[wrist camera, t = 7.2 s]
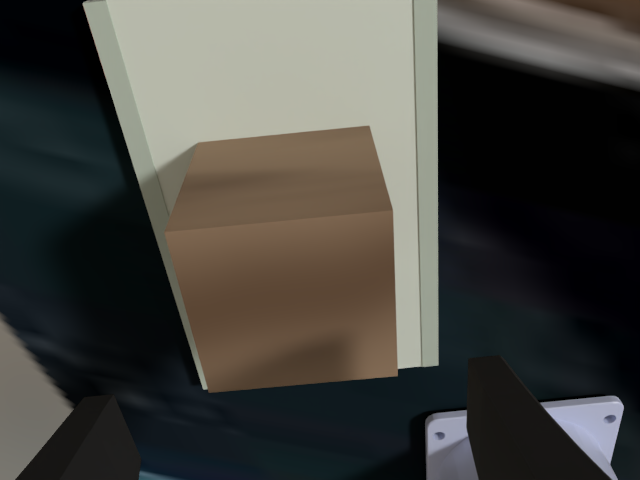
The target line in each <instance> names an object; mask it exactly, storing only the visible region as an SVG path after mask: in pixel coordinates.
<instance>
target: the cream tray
mask: <svg viewBox="0 0 640 480" xmlns="http://www.w3.org/2000/svg"><path fill="white" fill-rule="evenodd" d="M83 6H84V10H85V13H86V16H87V19H88V22H89V26H90V29H91V32H92V35H93V38H94V42H95V45H96V48H97V51H98V54H99V58H100V61H101V64H102V67H103V70H104V74H105V77H106V80H107V83H108V86H109V90H110V93H111V96H112V99H113V102H114V106H115V109H116V112H117V115H118V118H119V121H120V125H121V128H122V131H123V134H124V137H125V141H126V144H127V147H128V150H129V153H130V157H131V160H132V163H133V166H134V169H135V173H136V176H137V179H138V182H139V185H140V189H141V192H142V195H143V198H144V201H145V205H146V208H147V211H148V214H149V217H150V221H151V224H152V227H153V230H154V233H155V237H156V240H157V243H158V246H159V249H160V253H161V256H162V259H163V262H164V265H165V269H166V272H167V275H168V278H169V281H170V285H171V288H172V291H173V294H174V297H175V301H176V304H177V307H178V310H179V313H180V317H181V320H182V323H183V326H184V329H185V333H186V336H187V339H188V342H189V345H190V349H191V352H192V355H193V358H194V361H195V365H196V368H197V371H198V374H199V377H200V381H201V384H202V387H203V389H208V388H207V384H206V381H205V377H204V374H203V370H202V366H201V363H200V359H199V356H198V352H197V348H196V345H195V341H194V338H193V334H192V331H191V327H190V323H189V320H188V316H187V313H186V309H185V305H184V302H183V298H182V295H181V291H180V288H179V284H178V280H177V277H176V273H175V270H174V266H173V262H172V259H171V255H170V252H169V248H168V245H167V241H166V237H165V234H164V231H165V228H166V226H167V223H168V221H169V218H170V215H171V213H172V210H173V207H174V205H175V202H176V199H177V197H178V194H179V191H180V189H181V186H182V183H183V181H184V178H185V176H186V173H187V170H188V168H189V165H190V162H191V160H192V157H193V154H194V152H195V149H196V146H197V144H198V142H208V141H218V140H228V139H238V138H248V137H258V136H268V135H278V134H288V133H298V132H308V131H318V130H328V129H338V128H348V127H359V126H370V130H371V133H372V137H373V140H374V144H375V147H376V151H377V155H378V158H379V162H380V165H381V169H382V172H383V176H384V180H385V183H386V187H387V190H388V194H389V197H390V201H391V205H392V208H393V225H394V259H395V294H396V328H397V363H398V369H400V368H409V367H419V366H422V367H427V366H436V365H438V112H437V0H87V1H86V2H84V3H83Z"/></svg>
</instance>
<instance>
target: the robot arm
mask: <svg viewBox="0 0 640 480" xmlns="http://www.w3.org/2000/svg"><path fill="white" fill-rule="evenodd" d="M623 409H624V406H623V404H622V402H621V401H620V399H619V398H618V397H616V396H602V397H592V398H582V399H572V400H562V401H552V402H542V403H539V402H538V400H537V399H536V398H535V397H534V396H533V394H532V393H531V392H530V391H529V390H528V388H527V387H526V386H525V385H524V384H523V382H522V381H521V380H520V379H519V377H518V376H517V375H516V374H515V372H514V371H513V370H512V368H511V367H510V366H509V365H508V363H507V362H506V361H505V359H503V358H502V357H501V356H500V355H498V356H489V357H479V358H469V360H468V391H467V410H462V411H452V412H442V413H435V414H432V415H430V416H428V418H427V419H426V421H425V442H426V480H618V479H617V477H616V475H615V473H614V471H613V470H612V468H611V466H610V462H611V458H612V454H613V450H614V446H615V442H616V438H617V434H618V430H619V426H620V422H621V418H622V413H623ZM140 465H141V457H140V455H139V453H138V450H137V448H136V446H135V443H134V441H133V439H132V436H131V434H130V432H129V429H128V427H127V425H126V422H125V420H124V418H123V415H122V413H121V411H120V408H119V406H118V404H117V401H116V399H115V397H114V394H112V395H102V396H92V397H84V398H83V399H82V401H81V402H80V403H79V404H78V405H77V406H76V408H75V409H74V410H73V411H72V412H71V414H70V415H69V416H68V417H67V418H66V420H65V421H64V422H63V423H62V425H61V426H60V427H59V428H58V429H57V431H56V432H55V433H54V434H53V435H52V437H51V438H50V439H49V440H48V441H47V443H46V444H45V445H44V446H43V447H42V449H41V450H40V451H39V452H38V454H37V455H36V456H35V457H34V458H33V460H32V461H31V462H30V463H29V464H28V465H27V467H26V468H25V469H24V470H23V471H22V472H21V474H20V475H19V476H18V477H17V478H16V479H15V480H138V479H139V472H140Z"/></svg>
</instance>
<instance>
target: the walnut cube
mask: <svg viewBox="0 0 640 480" xmlns="http://www.w3.org/2000/svg"><path fill="white" fill-rule="evenodd" d="M164 234H165V237H166V241H167V245H168V248H169V252H170V255H171V259H172V262H173V266H174V270H175V273H176V277H177V280H178V284H179V288H180V291H181V295H182V298H183V302H184V305H185V309H186V313H187V316H188V320H189V323H190V327H191V331H192V334H193V338H194V341H195V345H196V348H197V352H198V356H199V359H200V363H201V366H202V370H203V374H204V377H205V381H206V384H207V388H208V391H209V393H211V392H222V391H234V390H245V389H256V388H267V387H279V386H290V385H301V384H312V383H323V382H335V381H346V380H357V379H368V378H380V377H391V376H398V363H397V328H396V294H395V259H394V225H393V208H392V205H391V201H390V197H389V194H388V190H387V187H386V183H385V180H384V176H383V172H382V169H381V165H380V162H379V158H378V155H377V151H376V147H375V144H374V140H373V137H372V133H371V130H370V126H359V127H348V128H338V129H328V130H318V131H308V132H298V133H288V134H278V135H268V136H258V137H248V138H238V139H228V140H218V141H208V142H198V144H197V146H196V149H195V152H194V154H193V157H192V160H191V162H190V165H189V168H188V170H187V173H186V176H185V178H184V181H183V183H182V186H181V189H180V191H179V194H178V197H177V199H176V202H175V205H174V207H173V210H172V213H171V215H170V218H169V221H168V223H167V226H166V228H165V231H164Z"/></svg>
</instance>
